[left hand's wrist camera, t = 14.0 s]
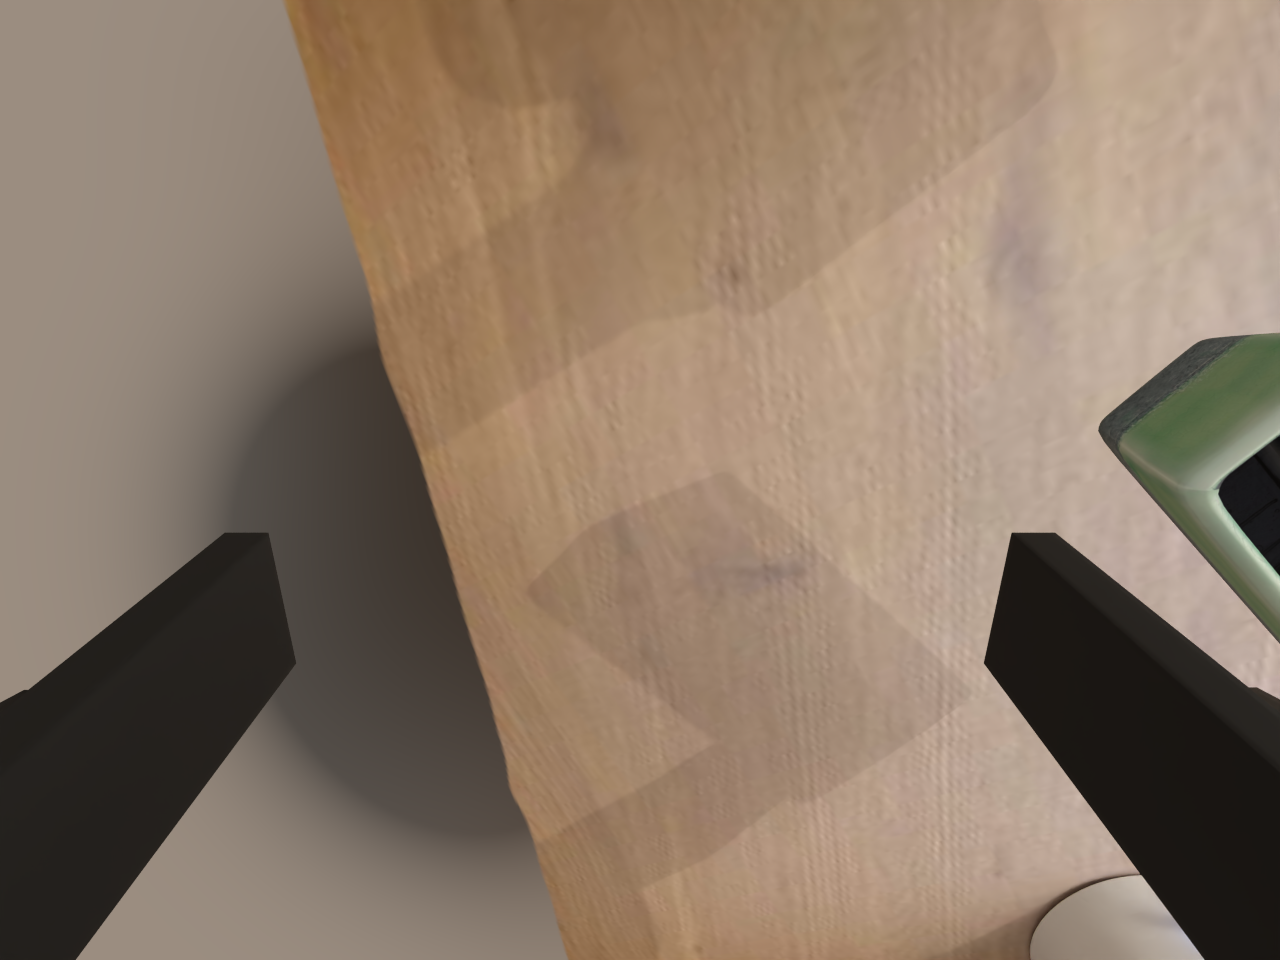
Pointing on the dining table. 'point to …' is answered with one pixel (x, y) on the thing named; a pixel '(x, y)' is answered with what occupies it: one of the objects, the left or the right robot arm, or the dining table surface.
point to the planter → (1214, 458)
